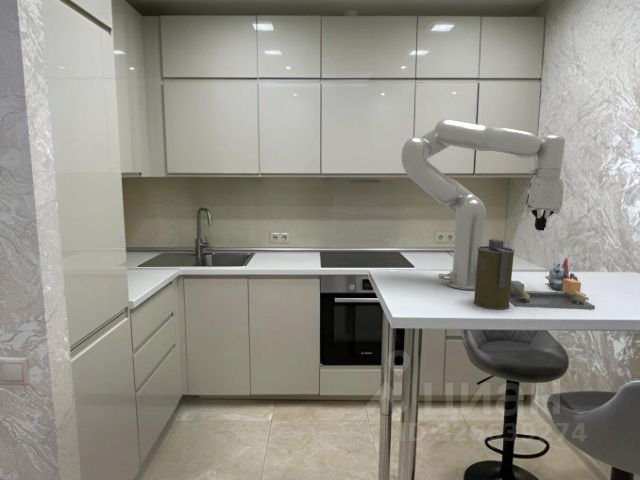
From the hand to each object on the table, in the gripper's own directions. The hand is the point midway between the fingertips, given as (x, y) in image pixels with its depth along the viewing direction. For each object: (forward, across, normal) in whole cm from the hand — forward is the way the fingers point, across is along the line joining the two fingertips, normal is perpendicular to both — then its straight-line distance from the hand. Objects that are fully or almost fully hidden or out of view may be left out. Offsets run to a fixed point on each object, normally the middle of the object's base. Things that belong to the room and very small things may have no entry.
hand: (539, 229), depth 142 cm
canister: (+22, -18, -17) cm, 33 cm away
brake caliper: (+22, +13, +8) cm, 27 cm away
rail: (+22, +2, -7) cm, 23 cm away
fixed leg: (+20, -7, -11) cm, 24 cm away
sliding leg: (+20, +10, -10) cm, 24 cm away
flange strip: (+22, +1, -14) cm, 26 cm away
